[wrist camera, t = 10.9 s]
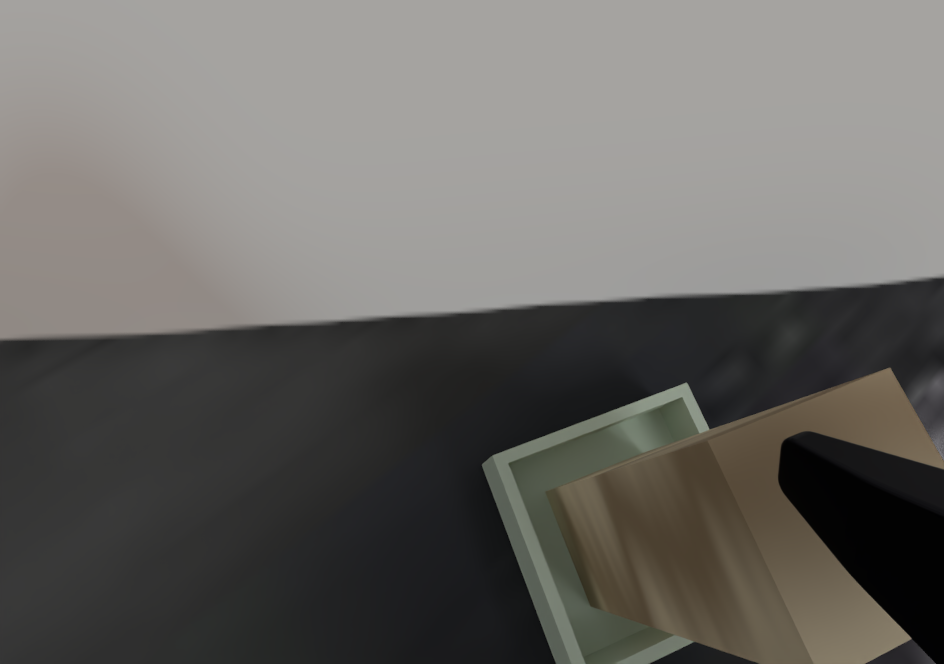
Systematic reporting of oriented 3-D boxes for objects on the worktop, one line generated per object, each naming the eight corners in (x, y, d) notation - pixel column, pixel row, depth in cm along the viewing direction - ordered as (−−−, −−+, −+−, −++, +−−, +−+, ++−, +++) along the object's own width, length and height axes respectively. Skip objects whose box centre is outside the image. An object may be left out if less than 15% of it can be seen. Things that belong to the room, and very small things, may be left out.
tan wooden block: (691, 560, 22) (1014, 584, 10) (590, 606, 21) (823, 685, 10) (643, 452, 23) (890, 367, 12) (545, 491, 22) (707, 440, 11)
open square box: (745, 589, 22) (789, 596, 20) (560, 676, 21) (583, 695, 18) (657, 398, 24) (687, 382, 22) (481, 464, 23) (492, 455, 20)
